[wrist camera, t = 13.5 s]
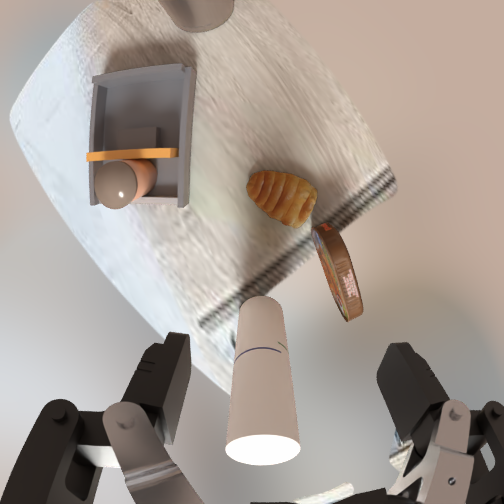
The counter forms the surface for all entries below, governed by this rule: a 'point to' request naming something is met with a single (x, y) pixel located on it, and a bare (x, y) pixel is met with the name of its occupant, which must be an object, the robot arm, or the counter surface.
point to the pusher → (136, 146)
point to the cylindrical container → (262, 388)
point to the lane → (147, 123)
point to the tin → (338, 270)
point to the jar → (124, 181)
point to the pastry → (282, 196)
